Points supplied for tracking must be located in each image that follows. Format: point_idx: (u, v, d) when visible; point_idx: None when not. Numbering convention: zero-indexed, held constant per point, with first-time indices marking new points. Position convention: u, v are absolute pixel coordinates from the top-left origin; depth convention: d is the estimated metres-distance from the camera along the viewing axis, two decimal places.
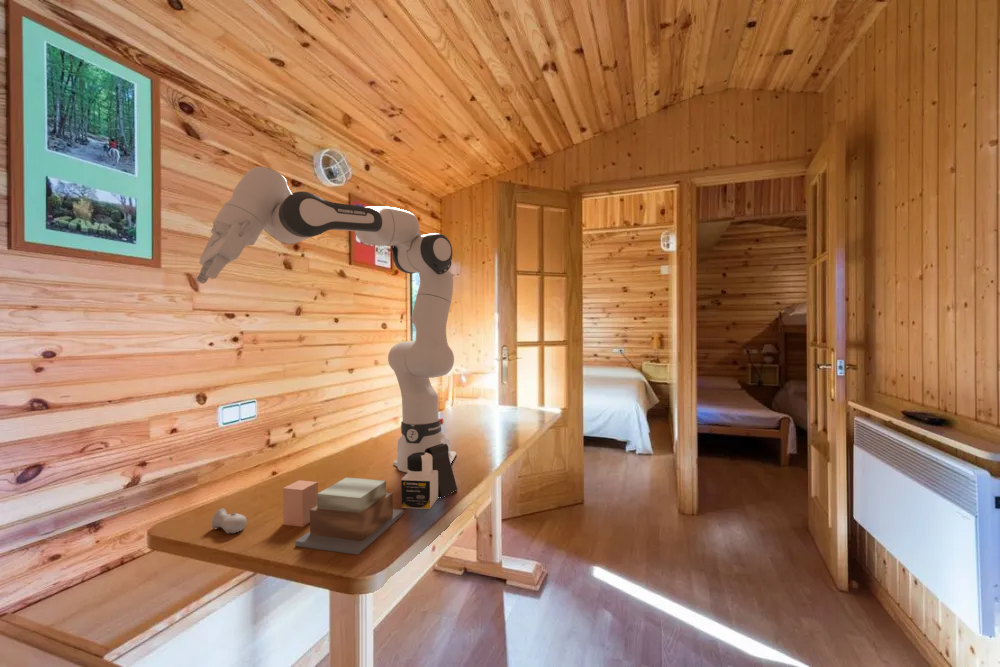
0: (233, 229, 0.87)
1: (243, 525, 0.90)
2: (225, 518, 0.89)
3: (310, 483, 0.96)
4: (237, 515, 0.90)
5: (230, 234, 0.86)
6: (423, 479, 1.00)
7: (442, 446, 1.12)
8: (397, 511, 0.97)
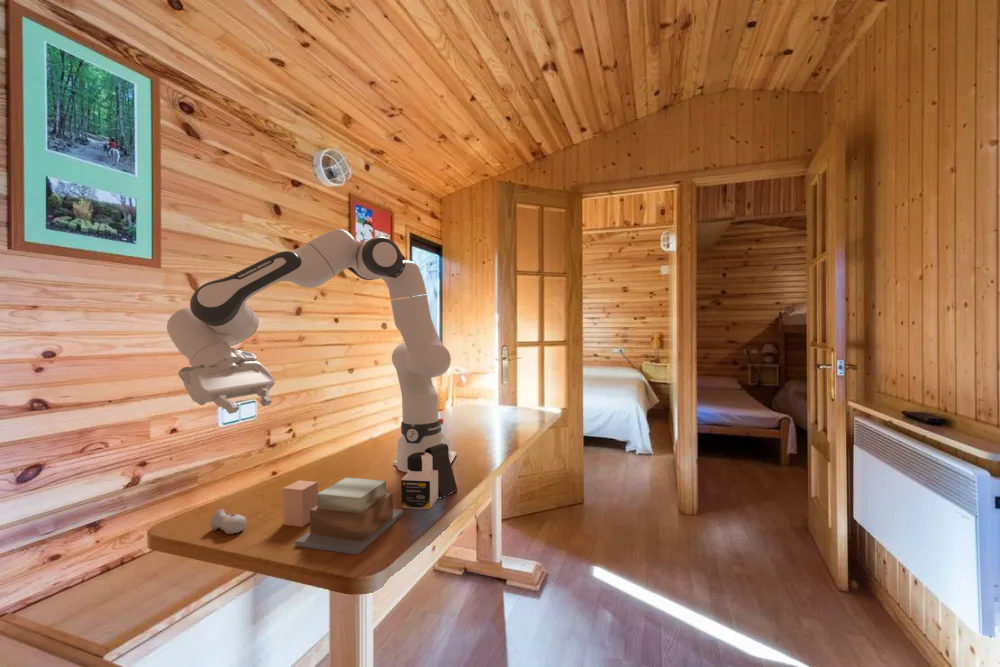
0: None
1: (243, 525, 0.90)
2: (224, 519, 0.89)
3: (310, 483, 0.96)
4: (237, 516, 0.90)
5: (187, 390, 0.90)
6: (423, 479, 1.00)
7: (442, 446, 1.12)
8: (397, 511, 0.97)
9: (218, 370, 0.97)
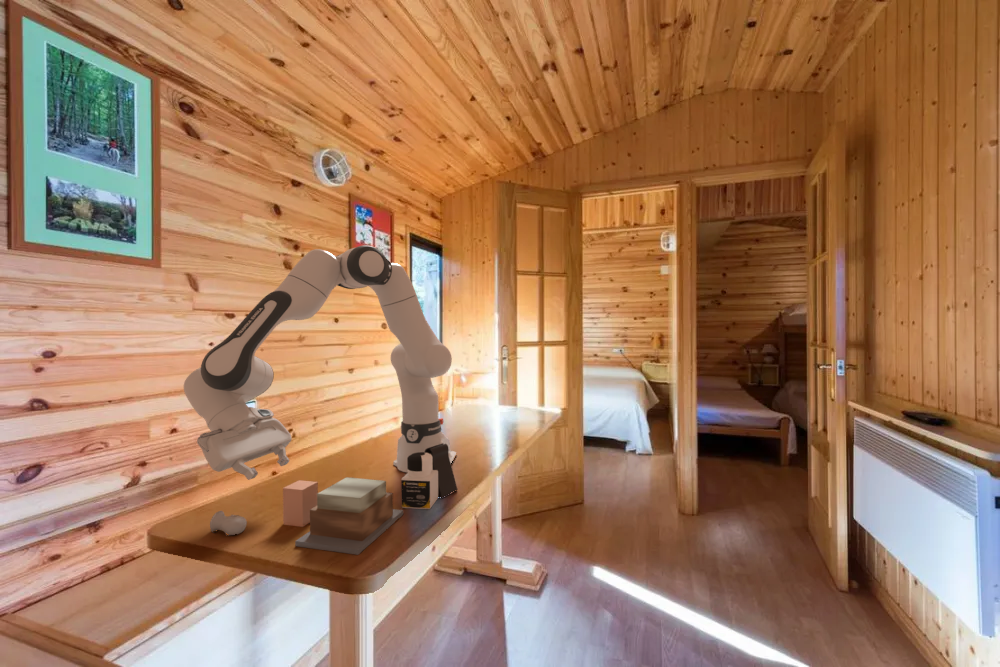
0: (203, 453, 0.90)
1: (244, 526, 0.89)
2: (225, 520, 0.88)
3: (310, 483, 0.96)
4: (237, 517, 0.90)
5: (206, 458, 0.89)
6: (423, 479, 1.00)
7: (442, 446, 1.12)
8: (397, 511, 0.97)
9: (236, 433, 0.96)
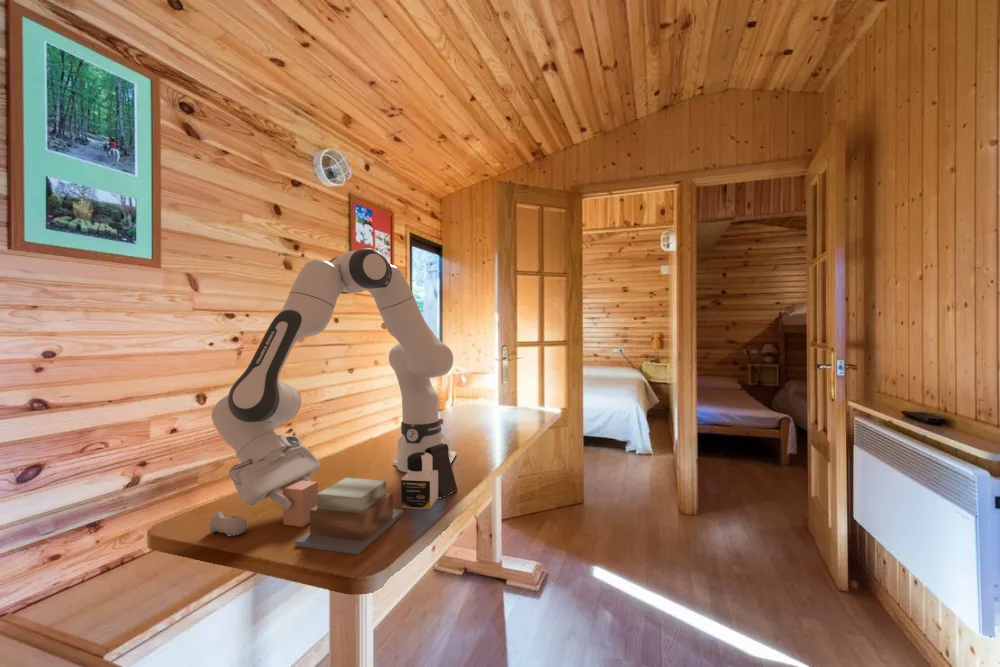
0: (235, 486, 0.88)
1: (245, 527, 0.89)
2: (225, 521, 0.88)
3: (310, 483, 0.96)
4: (238, 517, 0.89)
5: (238, 491, 0.87)
6: (423, 479, 1.00)
7: (442, 446, 1.12)
8: (397, 511, 0.97)
9: (266, 464, 0.94)
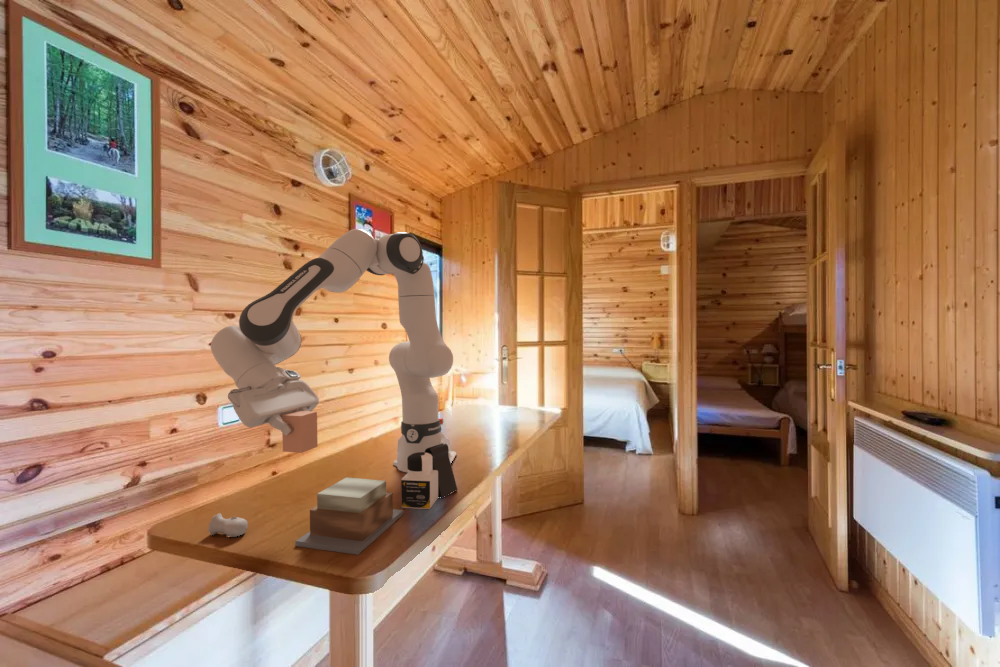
0: (234, 409, 0.88)
1: (246, 527, 0.89)
2: (226, 523, 0.87)
3: (309, 412, 0.96)
4: (238, 518, 0.89)
5: (237, 414, 0.87)
6: (423, 479, 1.00)
7: (442, 446, 1.12)
8: (397, 511, 0.97)
9: (266, 391, 0.93)
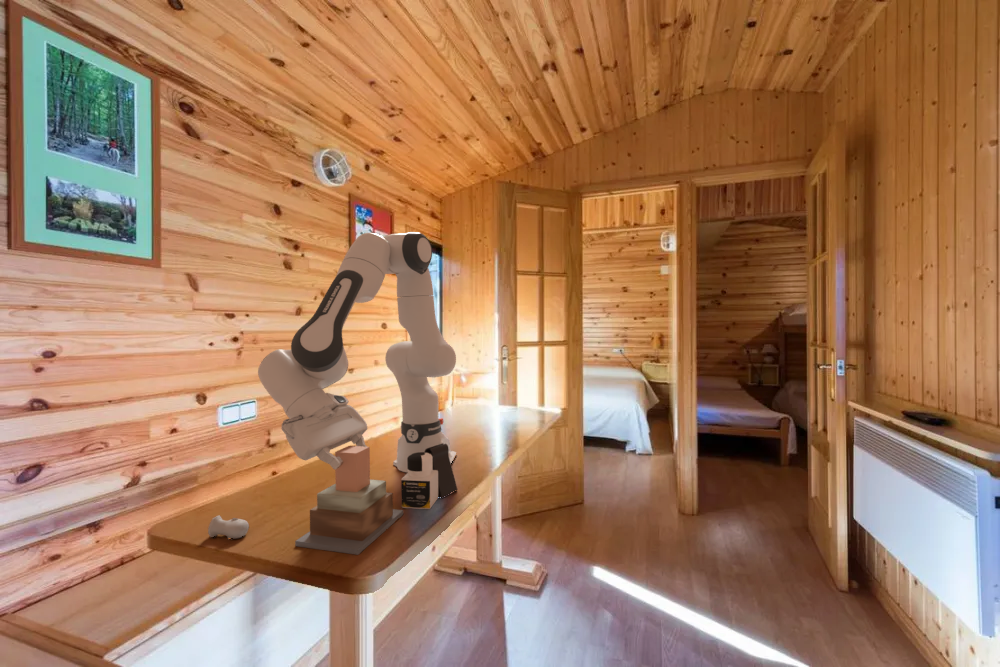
0: (288, 440, 0.83)
1: (247, 528, 0.88)
2: (227, 524, 0.87)
3: (362, 448, 0.92)
4: (239, 520, 0.88)
5: (291, 446, 0.83)
6: (423, 479, 1.00)
7: (442, 446, 1.12)
8: (397, 511, 0.97)
9: (317, 420, 0.89)
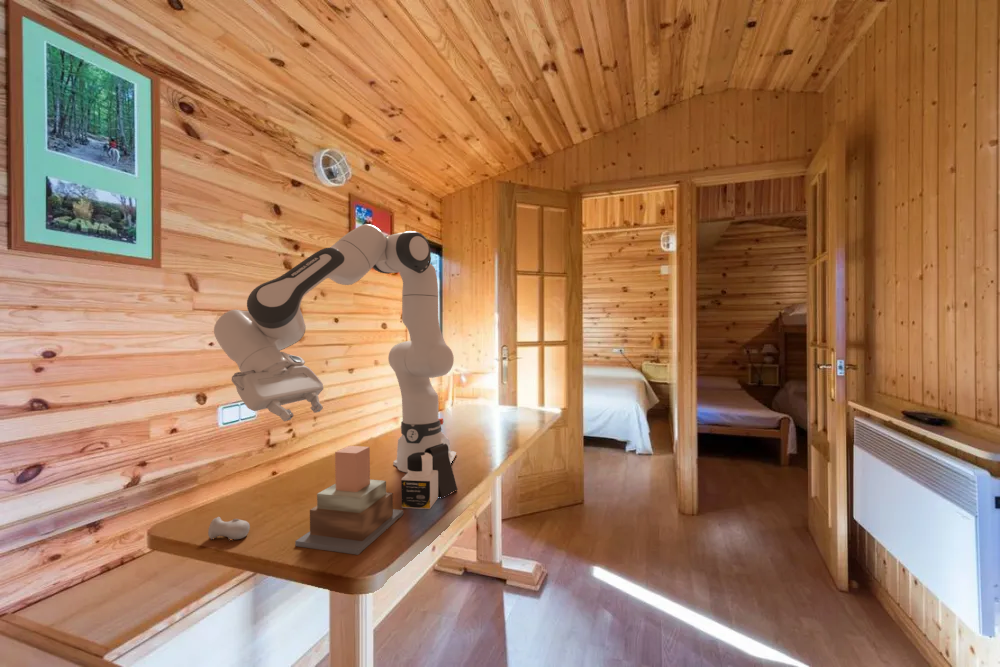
0: (238, 392, 0.86)
1: None
2: (228, 525, 0.86)
3: (362, 448, 0.92)
4: (240, 520, 0.88)
5: None
6: (423, 479, 1.00)
7: (442, 446, 1.12)
8: (397, 511, 0.97)
9: (270, 375, 0.92)
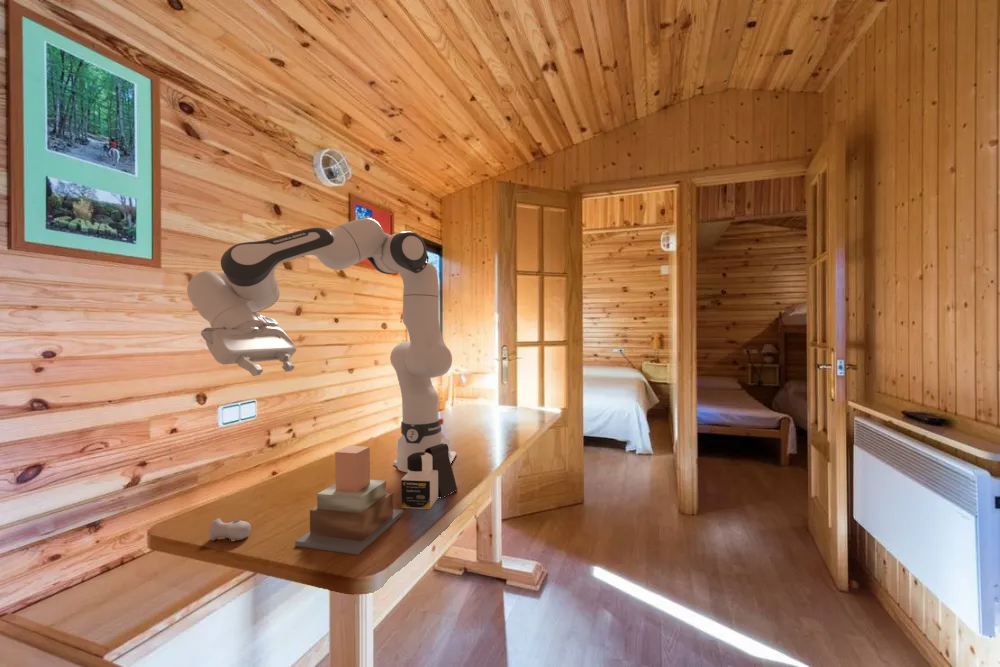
0: (207, 346, 0.88)
1: (250, 530, 0.88)
2: (229, 526, 0.86)
3: (362, 448, 0.92)
4: (242, 521, 0.87)
5: (210, 351, 0.88)
6: (423, 479, 1.00)
7: (442, 446, 1.12)
8: (397, 511, 0.97)
9: (240, 332, 0.94)
